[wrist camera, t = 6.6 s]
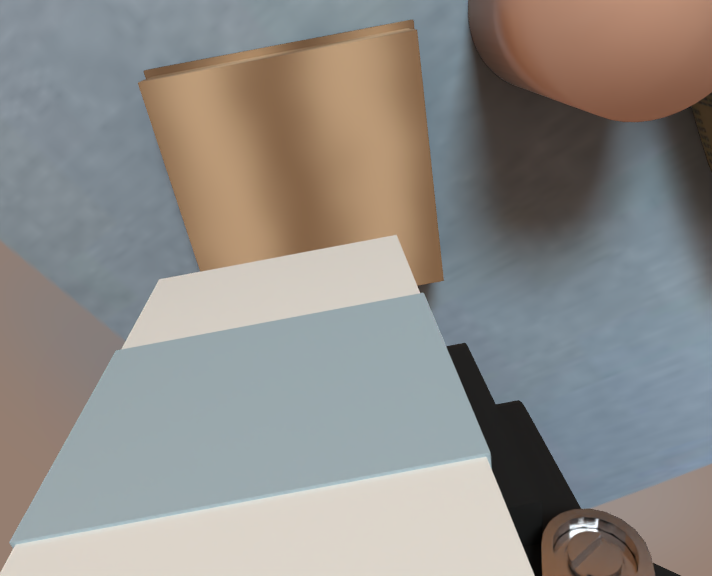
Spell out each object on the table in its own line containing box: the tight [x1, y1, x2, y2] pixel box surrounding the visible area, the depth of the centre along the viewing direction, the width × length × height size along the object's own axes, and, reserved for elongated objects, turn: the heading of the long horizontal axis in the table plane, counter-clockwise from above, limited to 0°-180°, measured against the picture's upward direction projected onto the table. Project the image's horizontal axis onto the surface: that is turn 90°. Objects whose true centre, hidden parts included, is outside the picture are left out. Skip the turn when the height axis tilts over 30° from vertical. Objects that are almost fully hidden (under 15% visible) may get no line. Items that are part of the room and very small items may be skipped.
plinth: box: [138, 20, 444, 286], centre depth 27 cm, size 13×13×3 cm
